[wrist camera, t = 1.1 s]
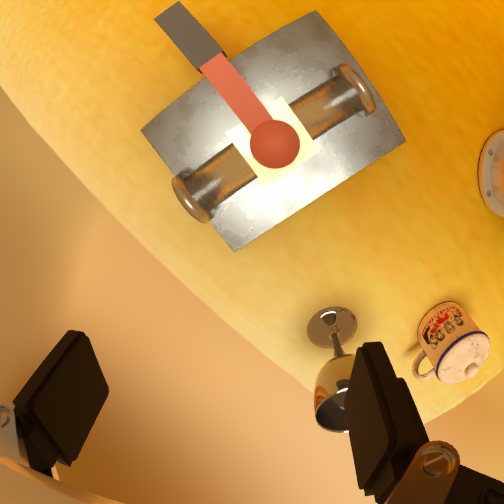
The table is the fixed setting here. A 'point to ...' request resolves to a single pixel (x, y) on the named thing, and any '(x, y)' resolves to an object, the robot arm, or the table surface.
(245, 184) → the valve
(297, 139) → the lever
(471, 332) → the teacup with lid
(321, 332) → the wine glass
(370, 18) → the table surface
